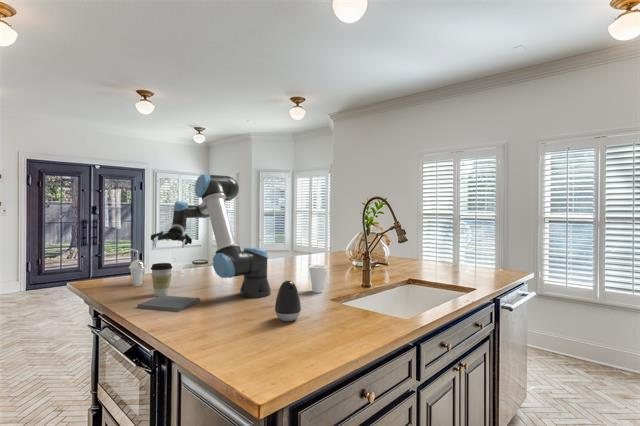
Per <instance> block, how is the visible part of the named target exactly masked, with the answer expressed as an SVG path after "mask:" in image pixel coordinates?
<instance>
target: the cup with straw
mask: <svg viewBox="0 0 640 426" xmlns="http://www.w3.org/2000/svg"><path fill="white" fill-rule="evenodd" d="M129 250H131V251H134V252H136V259H135V260H132V261H131V262H130V265H128V269H130V275H131V282H132V286H133V287H134V286H135V287H138V286H142V285H143V281H144V280H143V279H144V272H145V268H146V267H147V265H146V264H145V263H144V261H143V260H141V259H139V250H137V249H135V248H129Z"/></svg>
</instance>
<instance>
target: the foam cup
mask: <svg viewBox="0 0 640 426" xmlns="http://www.w3.org/2000/svg"><path fill="white" fill-rule="evenodd" d="M308 269H309V275H310V276H309V277H310V283H311V284H310V285H311V292H312V293H315V294H316V293H317V294H321V293H324V292H325V289H326V281H327V274H328V265H324V264H312V265H309V267H308Z"/></svg>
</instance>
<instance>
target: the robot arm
mask: <svg viewBox="0 0 640 426" xmlns="http://www.w3.org/2000/svg"><path fill="white" fill-rule="evenodd" d="M239 190H240V186H239V183H238V181H237V180H236V179H235V178H233V177H232V176H229V175H215V174H210V173H207V174H200V175H199V176H198V177H197V179H196V182H195V186H194V192H195V196H196V197H198V198H201V203H200V204H198V205H197V204H196V205H195V204H194V205H189V202H186V201H179V200H178V201H175V202H174V206H173V212H172V213H173V215H172V216H173V217H172V222H171V223H172V224H171V227H170V228H169V230H168V231H167V232H164V231H160V232H157V233H154V234H151V235H150V241H152V242H153V246H156V245H157V243H158V241H162V240H171V241H174V242H175V241H178V242H179V241H180V242H181V243H182V245H181V248H182V249H184V247H185V246H187V245H188V244H190V245H192V243H193V239H192V238H191V237H190V236H189V235H188V233H185V231H186V230H187V220H188V219H206V218H209V220H210V224H211V228H212V232H213V236H214V240H215V243H216V247H217V248H216V250H215V254H214V255H213V257H212V267H213V270H214V272H215V274H216V275H217V276H218V277H219V278H221V279H227V278H228V279H231V278H234V277H240V276H243V279H242V283H241V287H240V288H239V289H240V290H239V295H240V296H241V297H243V298H250V299H255V298H256V299H257V298H264V297H268V296H270V295H271V294H272V293H271V292H272V288H271V285H270V282H269V280H268V259H269V258H268V257H269V256H268V251H267V249H265V248H257V247H244V248H243V250H241V246H240V244H237V243H236V240H235V236H234V233H233V230H232V225H231V222H230V219H229V218H230V217H229V215H228V211H227V207H226V202H230V201H232V200H234V199H235V198H236V197H237V196H238V194H239V192H240V191H239ZM184 233H185V234H184Z"/></svg>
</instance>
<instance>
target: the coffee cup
mask: <svg viewBox="0 0 640 426" xmlns="http://www.w3.org/2000/svg"><path fill="white" fill-rule="evenodd" d="M172 269H173V266H172V263H170V262H160V263H157V262H156V263H153V264H152V265H151V267H150V270H151V279H152V286H153V287H152V288H153V291H154V292H153V293H154V296H155V297H159V296H162V295H165V296H169V293H170V286H171V278H172Z"/></svg>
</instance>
